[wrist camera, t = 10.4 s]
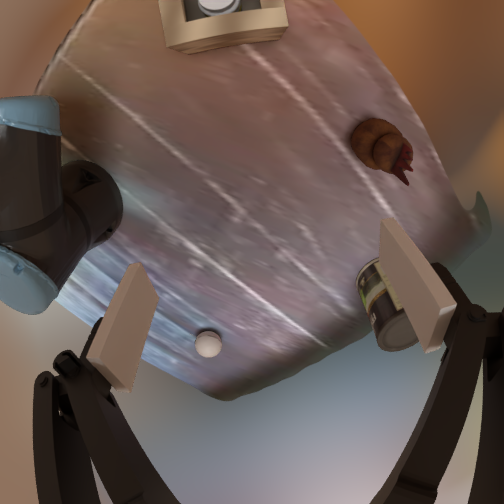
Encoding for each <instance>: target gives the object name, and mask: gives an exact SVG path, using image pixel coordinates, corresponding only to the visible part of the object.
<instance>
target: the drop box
mask: <svg viewBox="0 0 504 504" xmlns="http://www.w3.org/2000/svg"><path fill="white" fill-rule="evenodd" d="M158 2H159V8H160V14H161V19H162V25H163V31H164V36H165V42H166V47H167V48H170V49H173V50H176V51H179V52H182V53H185V54H188V55H190V54H194V53H198V52H203V51H208V50H213V49H218V48H223V47H229V46H235V45H241V44H248V43H256V42H264V41H274V40H279V39H280V38H281V36H282V35H283V33H284V32H285V31H286V29H287V28H288V20H287V15H286V10H285V4H284V0H241V6H242V11H241V12H234V13H228V14H222V15H217V16H212V17H206V16H205V15H204V13H203V12H202V11H201V10H200V8H199V6H198V0H158Z"/></svg>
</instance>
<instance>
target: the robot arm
mask: <svg viewBox="0 0 504 504" xmlns="http://www.w3.org/2000/svg"><path fill="white" fill-rule="evenodd" d="M61 136H62V131H61V130H60V109H59V104H58V102H57V100H56V99H55V98H53V97H51V96H46V95H35V96H17V97H5V98H0V300H1V301H2V302H4V303H5V304H6V305H8V306H9V307H11V308H13V309H15V310H17V311H19V312H21V313H24V314H29V315H36V314H40V313H42V312H43V311H45V310H46V309H47V308H48V306H49V305H50V303H51V302H52V301H53V300H54V299H55V298H57V296H58V294H59V292H60V290H61V288H62V287H63V285H64V284H65V282H66V281H67V279H68V278H69V276H70V275H71V273H72V272H73V270H74V269H75V267H76V266H77V264H78V263H79V261H80V260H81V259H82V257H83V256H84V254H85V253H86V252H87V251H89V250H91V249H93V248H94V247H96V246H98V245H100V244H102V243H104V242H105V241H107V240H108V239H109V238H110V237H111V236H112V234H113V233H114V232H115V230H116V229H117V228H118V226H119V224H120V221H121V218H122V212H123V205H122V198H121V195H120V192H119V189H118V187H117V185H116V183H115V182H114V180H113V179H112V177H111V176H110V175H109V174H108V173H107V172H106V171H105V170H104V169H103V168H101V167H100V166H98V165H96V164H94V163H92V162H89V161H83V160H77V161H72V162H69V163H67V164H65V165H64V166H62V167H61ZM379 263H380V265H381V267H382V269H383V270H384V272H385V274H386V276H387V278H388V279H389V281H390V283H391V285H392V287H393V289H394V291H395V293H396V294H397V296H398V298H399V300H400V302H401V304H402V306H403V308H404V310H405V312H406V314H407V316H408V318H409V320H410V322H411V324H412V326H413V328H414V331H415V333H416V335H417V337H418V339H419V341H420V344H421V346H422V348H423V350H424V352H425V353H428V352H431V351H434V350H437V349H440V347H441V344H442V342H443V340H444V342H445V344H446V346H447V348H446V350H445V352H444V354H443V356H442V359H441V361H442V362H441V365H440V368H439V371H438V373H437V376H436V379H435V382H434V384H433V387H432V390H431V392H430V395H429V397H428V400H427V402H426V404H425V407H424V409H423V411H422V414H421V416H420V418H419V420H418V423H417V424H416V427H415V429H414V431H413V433H412V435H411V437H410V439H409V441H408V443H407V445H406V447H405V449H404V451H403V452H402V454H401V456H400V458H399V460H398V461H397V463H396V465H395V467H394V469H393V470H392V472H391V474H390V475H389V477H388V478H387V480H386V482H385V483H384V485H383V486H382V488H381V489H380V491H379V492H378V493H377V494H376V496H375V497H374V498H373V499H372V501H371V503H370V504H434V502H435V500H436V497H437V488H438V485H439V483H440V481H441V479H442V477H443V475H444V473H445V471H446V468H447V466H448V464H449V462H450V459H451V457H452V455H453V453H454V450H455V448H456V445H457V443H458V440H459V437H460V435H461V432H462V429H463V426H464V423H465V421H466V417H467V414H468V411H469V408H470V405H471V402H472V398H473V394H474V391H475V387H476V384H477V379H478V376H479V371H480V367H481V362H482V359H483V405H482V422H481V432H480V442H479V449H478V456H477V462H476V468H475V473H474V478H473V483H472V488H471V492H470V496H469V500H468V504H504V308H503V310H502V312H498V313H497V312H496V313H488V312H486V310H485V309H484V308H482V307H481V306H479V305H477V304H472V303H471V302H470V300H469V299H468V298H467V296H466V294H465V293H464V292H463V290H462V289H461V287H460V286H459V285H458V283H456V280H455V279H454V278H453V277H452V275H451V274H450V272H449V271H448V270H447V268H446V267H444V266H443V265H441V264H440V263H438V262H436V263H432V264H429V262H428V261H427V260H426V258H425V257H424V256H423V254H422V253H421V252H420V250H419V249H418V248H417V246H416V245H415V244H414V243H413V241H412V240H411V239H410V237H409V236H408V235H407V234H406V232H405V231H404V230H403V229H402V227H401V226H400V225H399V224H398V223H397V221H396V220H395V219H394V218H387V219H381V220H380V249H379ZM158 300H159V297H158V295H157V293H156V291H155V289H154V288H153V286H152V284H151V282H150V280H149V278H148V276H147V274H146V272H145V270H144V268H143V266H142V263H141V262H139V263H134V264H130V265H129V267H128V268H127V270H126V272H125V274H124V276H123V278H122V280H121V282H120V284H119V286H118V288H117V290H116V292H115V294H114V296H113V298H112V300H111V302H110V304H109V307H108V309H107V311H106V313H105V315H104V317H100V319H99V320H98V321H97V322H96V323H95V324H94V326H93V329H92V331H91V334H90V335H89V337H88V340H87V342H86V344H85V346H84V349H83V351H82V353H81V356H80V358H77V356H76V355H75V354H74V353H73V352H72V351H71V350H65V351H63V352H61V353H60V354H59V355H57V357H56V358H55V360H54V362H53V368H54V369H55V371H57V372H58V374H59V376H54V375H53V374H52V373H51V372H49V371H44V372H42V373H41V374H39V375H38V377H37V378H36V380H35V384H34V399H33V450H34V466H35V477H36V485H37V493H38V499H39V504H101V503H100V499H99V495H98V491H97V487H96V483H95V478H94V474H93V469H92V464H91V459H92V462H93V464H94V466H95V468H96V470H97V473H98V474H99V477H100V479H101V481H102V483H103V485H104V487H105V489H106V491H107V493H108V495H109V497H110V498H111V500H112V502H113V504H181V503H179V501H178V500H177V499H176V498H175V496H174V495H173V493H172V492H171V491H170V489H169V488H168V487H167V485H166V484H165V483H164V481H163V480H162V478H161V477H160V475H159V474H158V472H157V471H156V469H155V468H154V466H153V465H152V463H151V462H150V460H149V458H148V457H147V455H146V454H145V452H144V450H143V449H142V447H141V445H140V444H139V442H138V440H137V439H136V437H135V435H134V434H133V432H132V430H131V428H130V426H129V425H128V423H127V421H126V419H125V417H124V415H123V413H122V411H121V409H120V408H119V406H118V404H117V402H116V400H115V398H114V396H113V394H112V393H111V392H110V389H111V386H113V387H114V388H115V389H116V390H117V391H118V392H131V390H132V387H133V383H134V379H135V375H136V372H137V369H138V365H139V361H140V358H141V355H142V351H143V348H144V344H145V341H146V338H147V335H148V331H149V328H150V325H151V322H152V319H153V316H154V312H155V309H156V306H157V303H158ZM59 411H60V415H59ZM90 457H91V459H90Z"/></svg>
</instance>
